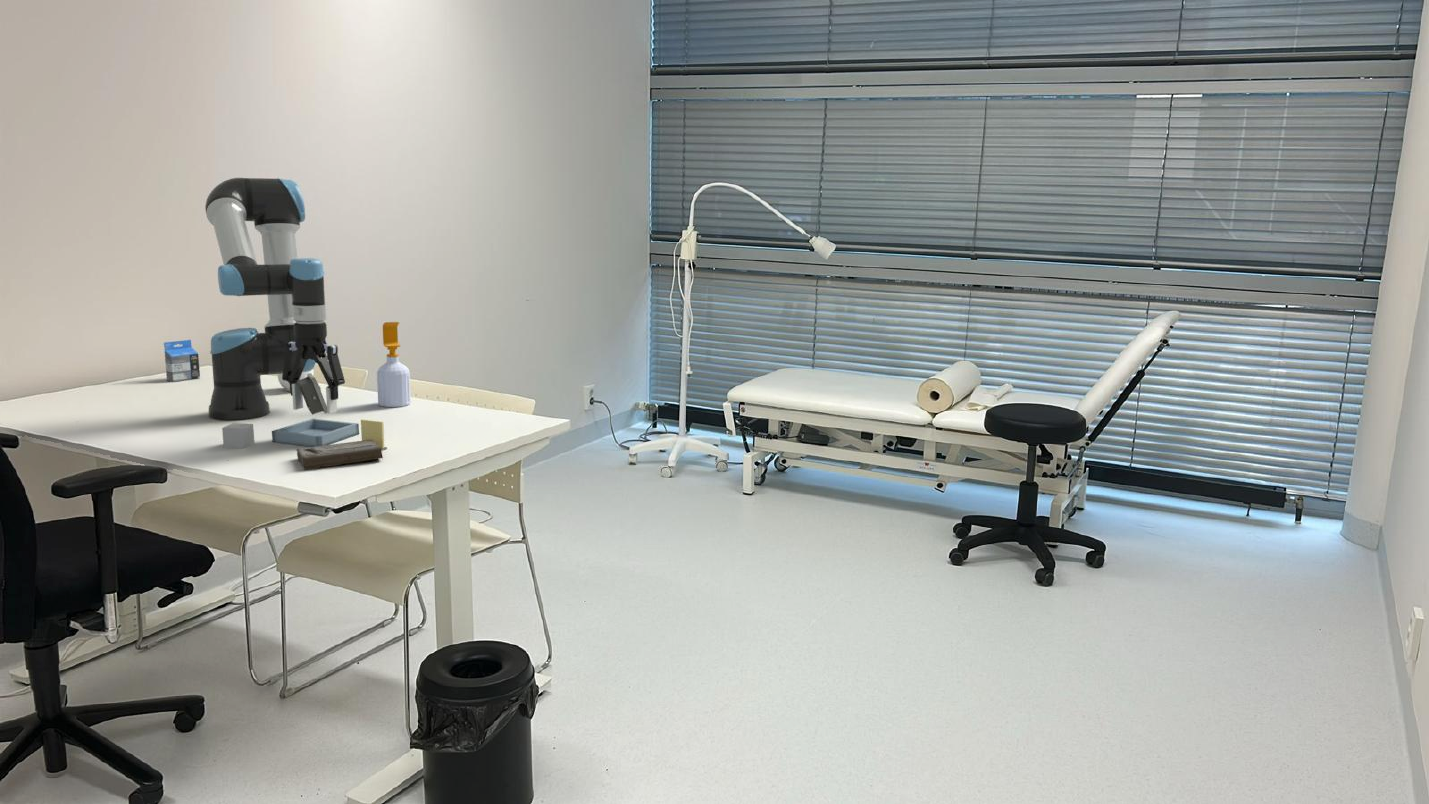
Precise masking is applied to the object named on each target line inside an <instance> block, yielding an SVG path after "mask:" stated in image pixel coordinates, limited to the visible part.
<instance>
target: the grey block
mask: <svg viewBox="0 0 1429 804" xmlns="http://www.w3.org/2000/svg"><path fill="white" fill-rule="evenodd" d="M221 429H222V442H223V445H222V446H223V448H224V449H225V448H226V449H246V448H248V447H250V446H251V445H253V444H255V431H254V430H255V429H254V423H244V422H243V423H240V422H232V423H230V424H228V425H225V426H223V427H221Z"/></svg>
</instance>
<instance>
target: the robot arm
mask: <svg viewBox="0 0 1429 804" xmlns="http://www.w3.org/2000/svg"><path fill="white" fill-rule="evenodd" d="M305 206H306V205H305V201H304V198H303V194H302V191H301V189H300V186H299V185H298V184H297V182H296V181H294V180H291V179H284V178H283V179H282V178H262V177H261V178H258V177H257V178H254V177H253V178H252V177H251V178H250V177H249V178H248V177H234V178H229V179H226V180H223V181H222V182H220V183H219V184H218V185H216V186H215V187H214V188H213V189H212V190H211V192H209V194H208V196H207V198H206V201H205V208H204V209H205V214H206V218H207V220H208V222H209V223H210V225H212V226H213V227H214V228H213V229H214V233H215V237H216V241H217V245H218V247H219V248H218V249H219V252H220V256H221V259H222V263H223V265H219V266H218V269H217V280H218V281H217V282H218V288H219V292H220V293H221V295H223V296H228V297H229V296H230V297H231V296H234V297H235V296H236V297H242V296H243V297H244V296H266V295H267V302H268V303H267V304H268V306H267V307H268V314H269V320H268V321H267V323H266V324H265V325H264V332H259V331H258V329H257V328H255V327H241V328H234V329H228V330H223V331H221V332H217V333H215V334H214V335H213V336H212V337H211V338H210V351H209V352H210V353H209V354H210V355H211V362H212V363H211V364H212V365H211V366H212V379H213V390H212V395H211V398H210V403H209V405H208V416H209V417H210V418H211V419H215V420H226V421H229V420H230V421H231V420H233V421H234V420H235V421H237V420H248V419H254V418H259V417H263V416H267V415H268V414H270V412H271V411H270V403H269V401H268V400H267V397H266V395H265V392H264V389H263V386H262V382H261V381H262V380H261V379H262V378H261V376H266V375H267V376H268V375H277V374H283V375H282V379H283V380H284V381H285V380H286V381H288V382H289V383H290V392H289V393H290V396H292V408H293V410H295V411H296V410H300V409H301V410H302V409H304V397H303V395H302V392H301V385H300V384H299V383H298V382H297V381H298V380H299V379H300V377H301V374H302V372H308V371H311V370H312V369H313V368H315V366H316V364H317V366H318V367H319V369H320V371H321V374H322V375H323V377H324V380H325V382H326V383H327V386H326V387H325V395H326V406H327V413H326V414H333V413H337V412H338V406H337V405H338V404H337V402H338V401H337V400H338V399H339V387H340V386H341V385H344V384H345V383H346V381H345V376H344V373H343V369H342V366H341V362H340V358H339V355H338V353H339V352H338V351H339V348H338V344H333V345H331V344H328V343H327V340H326V339H327V337H328V331H327V323H326V322H325V321H326V320H327V313H326V310H327V309H326V299H325V279H324V277H325V271H324V266H323V265H324V264H323V261H322V260H321V259H318V258H311V257H307V258H306V257H300V258H298V254H297V243H296V233H297V231H299V229H301V224H300V223H303V222H304V221H305V220H306V207H305ZM246 222H253V224H254V229H255V230H256V231H257V232H258V233H260V235H261V241H262V253H263V264H258V262H257V258H256V254H255V251H254V248H253V245H252V241H251V237H250V234H249V231H248V228H247V223H246Z"/></svg>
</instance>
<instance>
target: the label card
mask: <svg viewBox="0 0 1429 804" xmlns="http://www.w3.org/2000/svg"><path fill="white" fill-rule="evenodd" d="M384 426H385V425H384V421H379V420H373V419H372V420H371V419H370V420H369V419H360V431H361V432H360V433H361V441H363V440H371V439H372V440H373V441H374V442H375V443H376V444H377V445H378V446H379V447H380V448H381V450H382V451H384V450H387V448H388V447H387V446H385V430H384Z"/></svg>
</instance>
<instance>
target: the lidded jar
mask: <svg viewBox="0 0 1429 804" xmlns="http://www.w3.org/2000/svg"><path fill="white" fill-rule="evenodd" d="M314 368H315V367H314ZM314 368H313V369H312V370H311V371H308V372H302V374H301V377H300V379H299V380H301V379H303V378H306V377H308V375H307V374H309V373H311V374H312V375H313V376H314V374H315V371H314ZM282 375H283V374H276V376H277V381H278V383H279V385H280V386H281V387H282V388H283V389H285V391H286V392H289V393H290V383H289V382H288V381H286V380H285V381H284V380H283V379H282ZM314 377H315V376H314Z"/></svg>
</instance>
